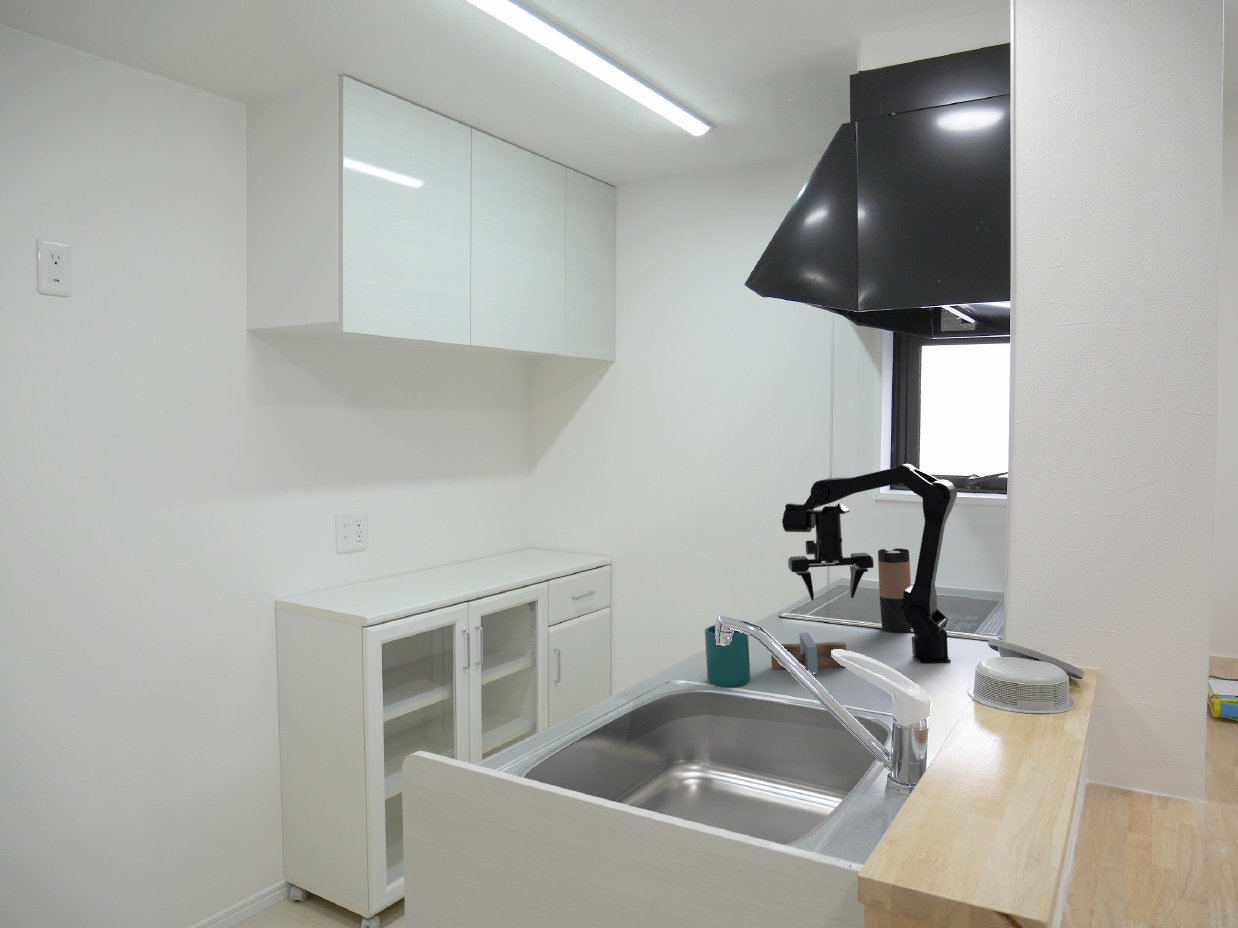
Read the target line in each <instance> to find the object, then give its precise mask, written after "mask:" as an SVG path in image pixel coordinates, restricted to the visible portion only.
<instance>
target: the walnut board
mask: <svg viewBox="0 0 1238 928" xmlns="http://www.w3.org/2000/svg"><path fill="white" fill-rule="evenodd" d="M814 643H815V645H816V647H817V663H818V667H825V668H824V669H828V668H829V669H830V668H831V669H834V668H837V669H838V668H844V667H843V666H841V665H840V664H839V663H837V661H835V660H834V659H833V658H832V657H831V650H833V649H843V650H846V651H847V643H846V642H845V641H840V642H839V641H836V642H833V641H831V642H814ZM780 644H781V645H782V646H784V648H785V649H787V651H788V652H790V653H791V654H792V655H793V656H794V657H795V658H796V659H797V660H798V661H799V663H801V664H802V665H804V666H805V655H801V647H800V643H787V644H785V643H780ZM770 658H771V659H770V661H771V669H772V671H773V670H786V669H785V668H784V667H783V666H781V665H780V664H779V663H778V661H777V660H776V659H775V658H774V657H773V656H772V655H771V654H770Z"/></svg>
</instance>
